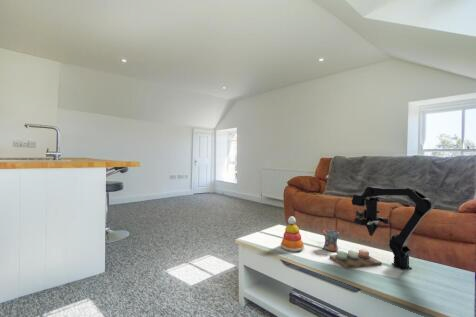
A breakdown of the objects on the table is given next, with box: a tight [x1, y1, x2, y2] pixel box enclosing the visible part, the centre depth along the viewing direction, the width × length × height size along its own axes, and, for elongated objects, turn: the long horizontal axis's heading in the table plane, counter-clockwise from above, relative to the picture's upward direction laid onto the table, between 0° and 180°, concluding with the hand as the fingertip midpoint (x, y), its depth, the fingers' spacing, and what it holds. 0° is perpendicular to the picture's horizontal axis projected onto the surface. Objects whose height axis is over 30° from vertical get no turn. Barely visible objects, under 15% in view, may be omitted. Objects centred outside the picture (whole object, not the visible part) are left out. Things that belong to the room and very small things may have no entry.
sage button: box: [336, 250, 348, 259], centre depth 126 cm, size 5×5×2 cm
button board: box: [329, 252, 383, 270], centre depth 127 cm, size 22×13×2 cm, turn 104°
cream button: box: [347, 249, 359, 258], centre depth 128 cm, size 5×5×2 cm
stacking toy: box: [280, 215, 305, 252], centre depth 144 cm, size 14×14×20 cm
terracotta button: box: [358, 249, 370, 258], centre depth 130 cm, size 5×5×2 cm
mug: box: [322, 229, 340, 252], centre depth 145 cm, size 12×9×11 cm
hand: (371, 235), depth 134 cm, fingers closed
